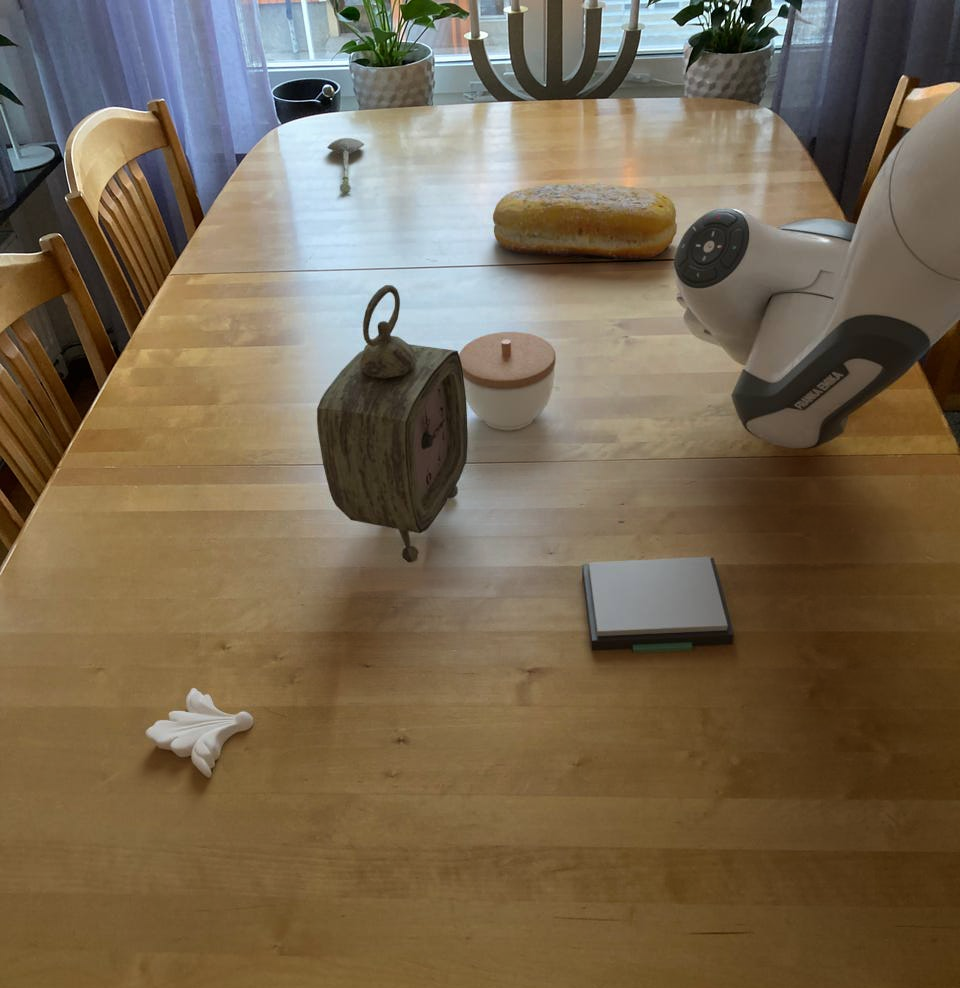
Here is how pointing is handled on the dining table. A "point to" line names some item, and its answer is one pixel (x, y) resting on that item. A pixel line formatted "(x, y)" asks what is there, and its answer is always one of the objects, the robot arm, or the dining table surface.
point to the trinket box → (508, 378)
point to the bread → (586, 221)
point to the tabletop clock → (394, 431)
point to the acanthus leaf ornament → (198, 731)
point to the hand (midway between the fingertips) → (794, 366)
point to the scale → (655, 605)
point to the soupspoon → (345, 156)
